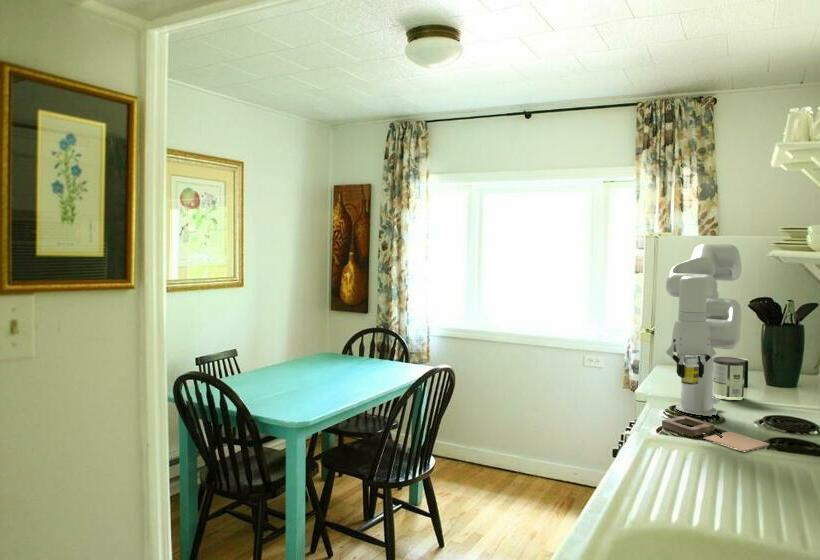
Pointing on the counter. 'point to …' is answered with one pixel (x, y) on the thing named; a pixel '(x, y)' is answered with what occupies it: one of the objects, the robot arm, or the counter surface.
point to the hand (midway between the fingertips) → (689, 376)
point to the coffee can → (728, 376)
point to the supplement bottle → (690, 371)
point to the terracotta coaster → (737, 441)
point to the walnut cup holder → (677, 426)
